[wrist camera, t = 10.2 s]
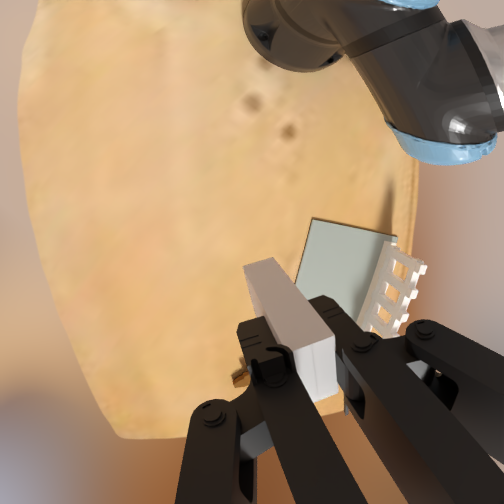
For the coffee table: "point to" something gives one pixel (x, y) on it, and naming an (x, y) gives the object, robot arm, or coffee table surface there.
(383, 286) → the fence panel
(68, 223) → the coffee table surface
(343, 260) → the board
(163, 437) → the coffee table surface
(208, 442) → the robot arm
